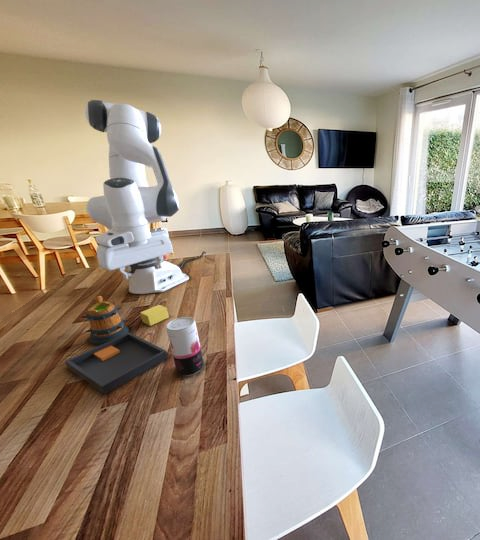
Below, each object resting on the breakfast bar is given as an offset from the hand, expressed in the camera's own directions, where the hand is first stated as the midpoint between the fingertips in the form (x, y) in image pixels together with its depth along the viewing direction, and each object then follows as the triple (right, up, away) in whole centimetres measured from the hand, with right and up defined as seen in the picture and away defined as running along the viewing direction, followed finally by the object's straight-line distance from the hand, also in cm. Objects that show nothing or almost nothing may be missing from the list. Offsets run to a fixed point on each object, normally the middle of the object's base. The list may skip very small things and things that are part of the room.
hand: (143, 273), depth 95 cm
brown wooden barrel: (-10, -20, -2) cm, 22 cm away
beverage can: (+24, -27, -15) cm, 39 cm away
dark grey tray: (+4, -25, -14) cm, 29 cm away
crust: (-2, -24, -12) cm, 26 cm away
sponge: (-1, -17, +6) cm, 18 cm away
